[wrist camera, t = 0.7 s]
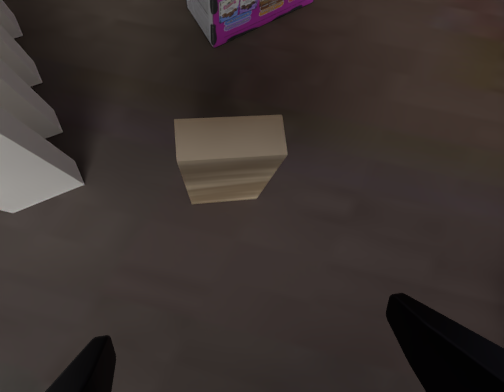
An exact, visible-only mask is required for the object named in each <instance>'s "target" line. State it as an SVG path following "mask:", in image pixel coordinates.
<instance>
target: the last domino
mask: <svg viewBox="0 0 504 392" xmlns="http://www.w3.org/2000/svg"><path fill="white" fill-rule="evenodd" d="M0 24H1V25H2V26H3V27H4V29H5V30H6V31H7V32H8V33H9V34H10V35H11V36H12V37H13V39H14V38H17V37H21V36H23V34H22V32H21V29H20V27H19V24H18V22H17V19H16V17H15V15H14V14H13V13H12V11H11V10H10V9H9V8H8V6H7V5H6V4H5V3H4V1H3V0H0Z"/></svg>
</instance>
